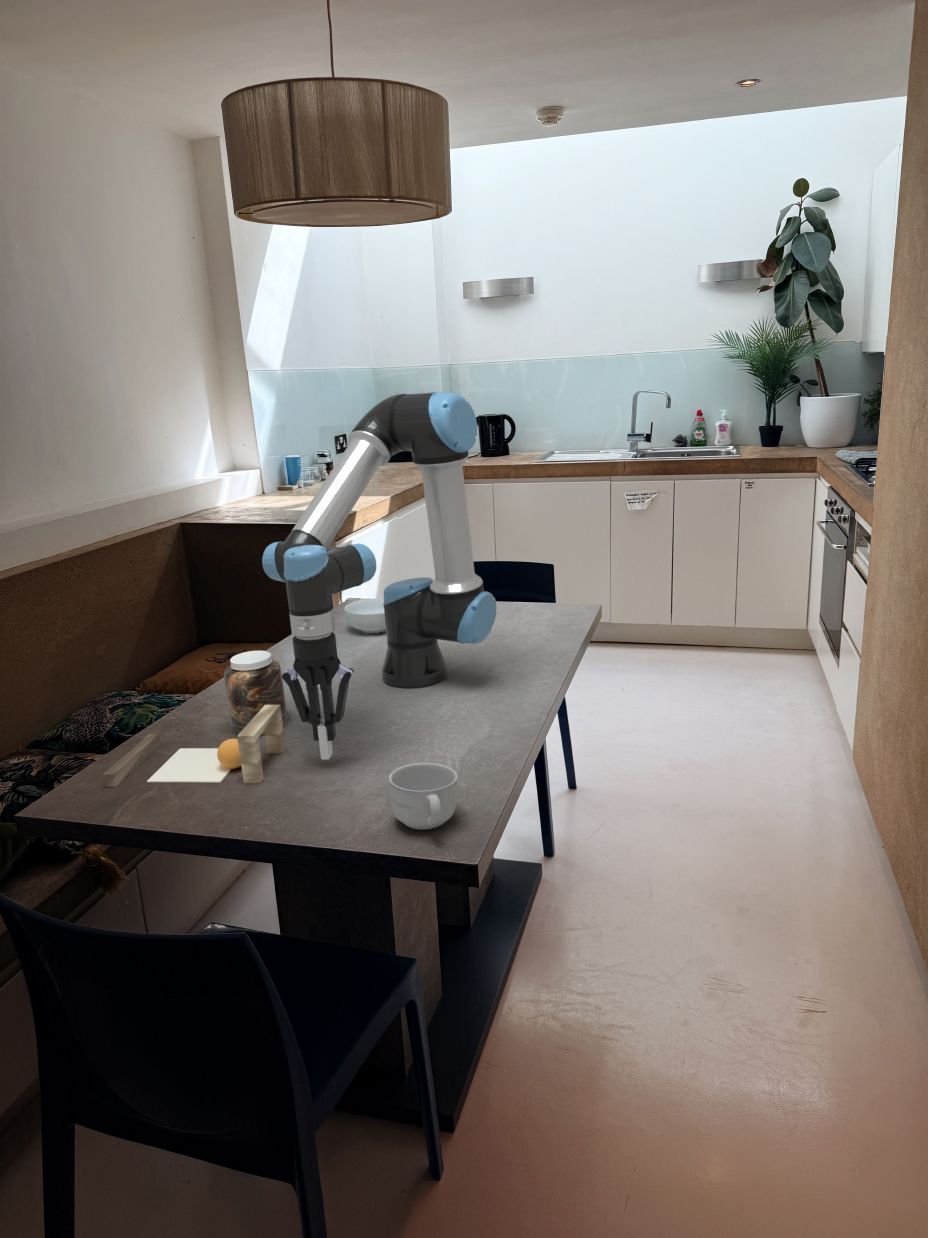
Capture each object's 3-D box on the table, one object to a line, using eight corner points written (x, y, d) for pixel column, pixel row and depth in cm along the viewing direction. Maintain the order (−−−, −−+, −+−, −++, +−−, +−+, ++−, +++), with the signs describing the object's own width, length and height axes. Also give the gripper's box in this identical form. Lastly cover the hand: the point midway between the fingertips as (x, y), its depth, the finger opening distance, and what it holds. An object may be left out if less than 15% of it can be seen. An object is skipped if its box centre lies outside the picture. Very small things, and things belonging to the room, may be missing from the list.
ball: (257, 746, 164) (234, 728, 163) (247, 760, 158) (223, 741, 158) (241, 765, 165) (218, 747, 165) (230, 779, 160) (206, 761, 159)
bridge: (285, 748, 169) (280, 704, 166) (259, 783, 155) (253, 735, 153) (270, 748, 169) (265, 704, 167) (243, 783, 156) (237, 736, 153)
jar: (226, 721, 185) (217, 654, 180) (281, 710, 189) (273, 644, 185) (235, 741, 174) (225, 670, 170) (293, 729, 178) (285, 660, 174)
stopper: (160, 745, 174) (158, 733, 173) (115, 787, 157) (113, 774, 156) (151, 745, 174) (149, 733, 174) (105, 787, 157) (102, 774, 157)
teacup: (392, 807, 144) (388, 763, 142) (457, 801, 145) (454, 757, 143) (392, 851, 131) (388, 803, 129) (464, 844, 131) (461, 797, 129)
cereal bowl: (403, 637, 235) (401, 612, 233) (342, 640, 236) (339, 615, 234) (408, 619, 252) (406, 596, 250) (351, 622, 252) (348, 599, 250)
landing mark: (248, 749, 170) (248, 748, 170) (220, 782, 156) (220, 781, 156) (180, 749, 172) (180, 748, 172) (146, 782, 158) (146, 781, 158)
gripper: (271, 641, 151) (286, 765, 157) (344, 639, 149) (356, 765, 156) (284, 628, 158) (298, 747, 165) (354, 627, 156) (366, 747, 163)
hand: (326, 756), depth 160 cm, fingers closed
